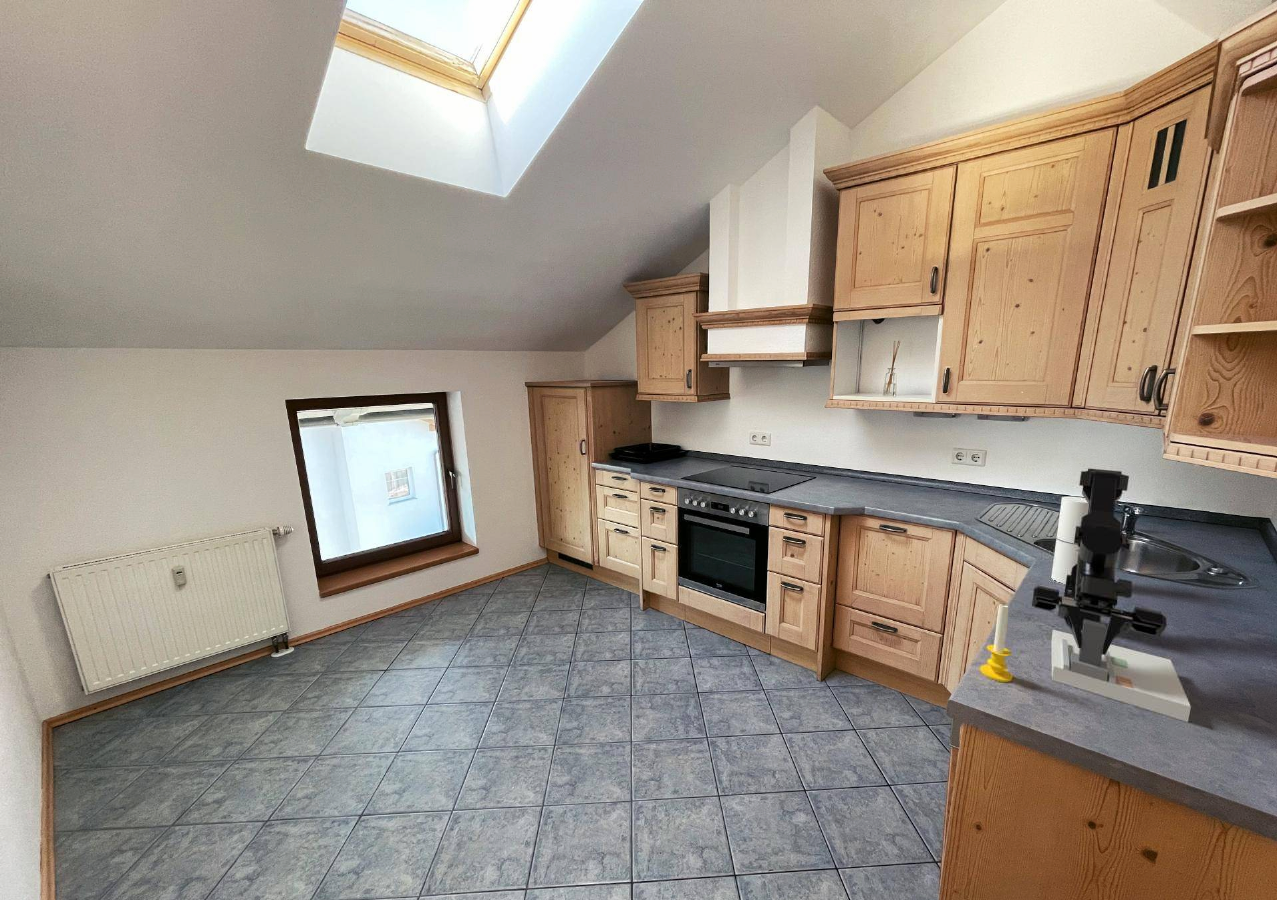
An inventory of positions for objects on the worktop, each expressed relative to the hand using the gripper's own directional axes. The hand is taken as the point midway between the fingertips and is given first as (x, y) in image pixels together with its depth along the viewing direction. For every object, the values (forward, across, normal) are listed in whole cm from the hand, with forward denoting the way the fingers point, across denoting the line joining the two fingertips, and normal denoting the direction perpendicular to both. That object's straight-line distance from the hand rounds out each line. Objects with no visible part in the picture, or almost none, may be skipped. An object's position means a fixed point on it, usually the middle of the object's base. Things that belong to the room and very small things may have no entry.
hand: (1091, 650), depth 90 cm
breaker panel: (0, +4, +12) cm, 12 cm away
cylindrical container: (-38, -1, +50) cm, 63 cm away
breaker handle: (+2, 0, +4) cm, 5 cm away
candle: (+10, -14, +2) cm, 17 cm away
